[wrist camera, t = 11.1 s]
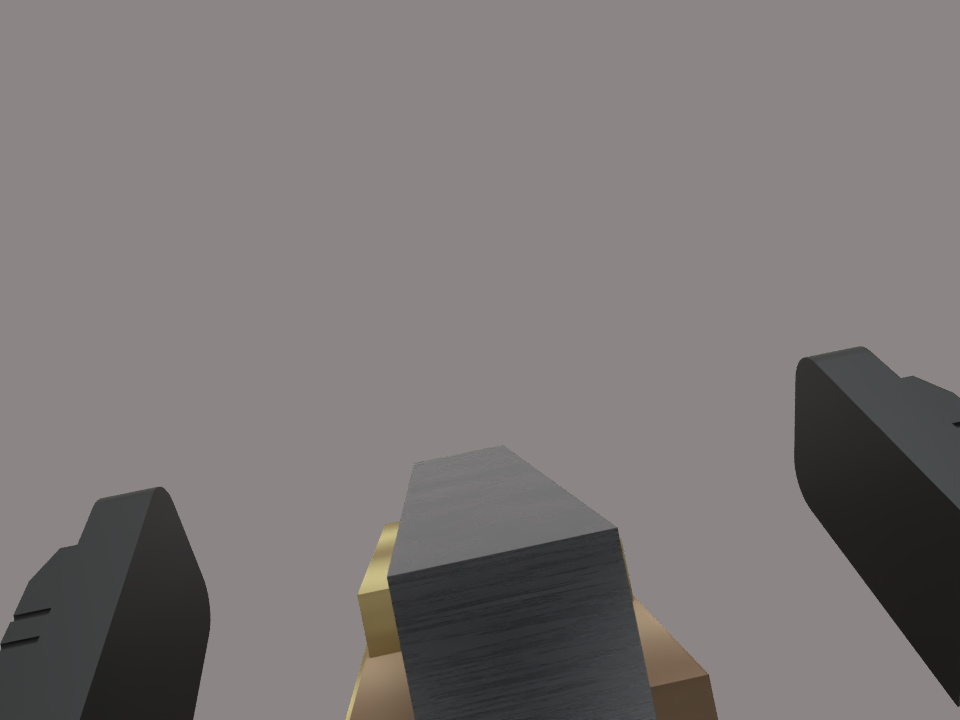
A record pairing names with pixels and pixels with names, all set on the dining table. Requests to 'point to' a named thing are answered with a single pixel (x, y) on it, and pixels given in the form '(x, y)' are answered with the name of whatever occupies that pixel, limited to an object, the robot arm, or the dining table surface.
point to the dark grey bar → (512, 598)
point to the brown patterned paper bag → (383, 683)
